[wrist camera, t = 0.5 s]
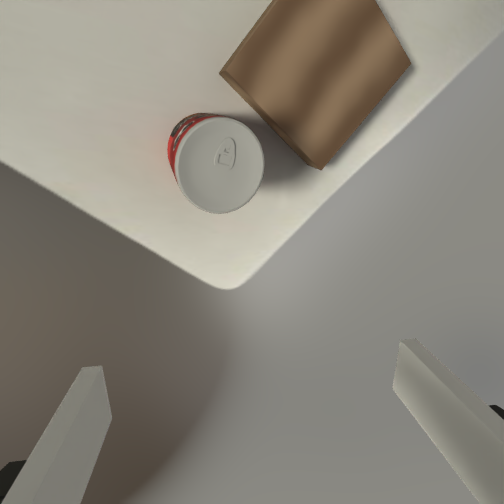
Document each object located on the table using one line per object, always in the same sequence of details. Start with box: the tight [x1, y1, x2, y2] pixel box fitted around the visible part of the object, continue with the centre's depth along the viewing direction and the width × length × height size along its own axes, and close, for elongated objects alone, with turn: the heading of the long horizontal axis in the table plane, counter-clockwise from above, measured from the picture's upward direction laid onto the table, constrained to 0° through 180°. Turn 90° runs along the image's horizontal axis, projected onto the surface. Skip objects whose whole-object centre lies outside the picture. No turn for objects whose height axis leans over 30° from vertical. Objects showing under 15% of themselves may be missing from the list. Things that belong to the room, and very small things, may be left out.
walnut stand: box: [219, 0, 411, 170], centre depth 34 cm, size 15×15×4 cm
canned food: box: [168, 113, 265, 214], centre depth 31 cm, size 8×8×11 cm
